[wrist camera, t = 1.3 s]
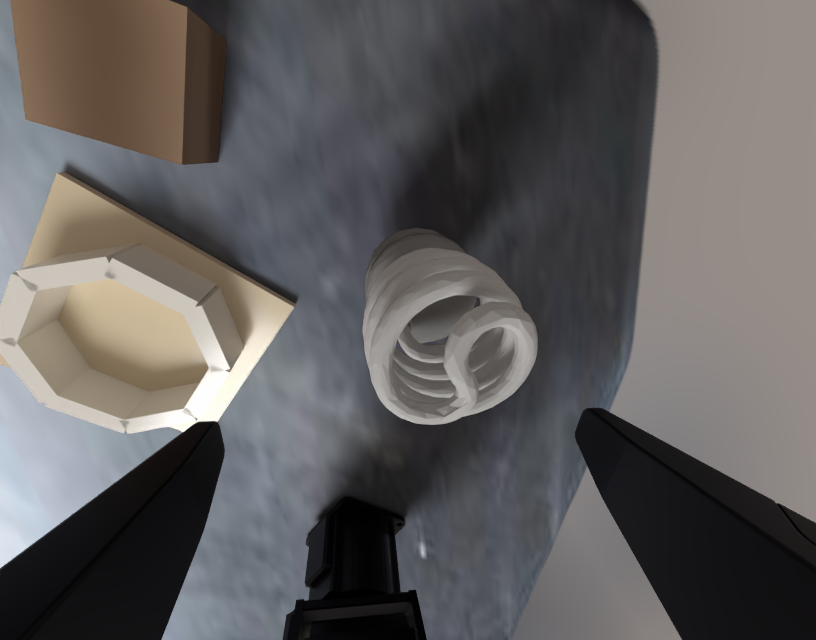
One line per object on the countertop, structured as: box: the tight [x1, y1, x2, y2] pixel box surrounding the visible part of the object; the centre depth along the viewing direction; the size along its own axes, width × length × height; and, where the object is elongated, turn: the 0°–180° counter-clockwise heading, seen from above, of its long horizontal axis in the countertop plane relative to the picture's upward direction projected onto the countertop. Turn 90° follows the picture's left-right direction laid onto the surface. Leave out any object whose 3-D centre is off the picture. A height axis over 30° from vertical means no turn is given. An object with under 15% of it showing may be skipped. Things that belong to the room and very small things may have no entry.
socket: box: [0, 172, 295, 434], centre depth 19 cm, size 12×12×3 cm
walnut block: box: [10, 0, 227, 165], centre depth 13 cm, size 5×5×4 cm
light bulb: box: [363, 228, 538, 425], centre depth 15 cm, size 6×6×12 cm
